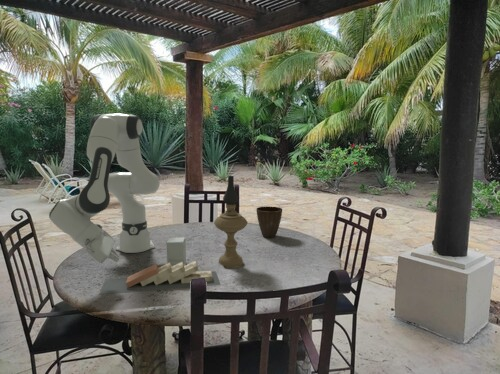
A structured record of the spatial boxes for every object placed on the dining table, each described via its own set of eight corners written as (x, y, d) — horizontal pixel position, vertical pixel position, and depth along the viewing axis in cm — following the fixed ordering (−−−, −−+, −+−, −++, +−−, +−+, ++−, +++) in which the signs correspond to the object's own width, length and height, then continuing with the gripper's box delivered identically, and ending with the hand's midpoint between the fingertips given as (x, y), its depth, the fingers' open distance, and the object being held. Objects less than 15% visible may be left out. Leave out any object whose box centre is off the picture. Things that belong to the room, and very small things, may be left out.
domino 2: (141, 275, 143) (169, 262, 145) (143, 280, 143) (171, 266, 145) (140, 282, 137) (169, 267, 139) (142, 286, 138) (171, 272, 139)
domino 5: (180, 272, 146) (210, 270, 149) (181, 277, 147) (210, 275, 149) (181, 278, 140) (212, 276, 143) (181, 283, 141) (212, 281, 143)
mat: (105, 281, 144) (105, 279, 144) (215, 273, 154) (215, 271, 154) (98, 296, 131) (98, 294, 131) (220, 286, 140) (220, 284, 140)
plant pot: (251, 234, 213) (252, 207, 211) (274, 231, 220) (274, 205, 217) (263, 241, 200) (263, 212, 198) (286, 237, 206) (287, 210, 204)
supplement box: (186, 264, 164) (186, 237, 162) (184, 270, 156) (183, 242, 154) (170, 264, 163) (169, 237, 162) (166, 270, 156) (166, 242, 154)
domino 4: (167, 273, 145) (195, 260, 147) (169, 278, 146) (197, 264, 147) (167, 279, 139) (196, 265, 141) (170, 284, 140) (198, 270, 141)
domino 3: (154, 275, 144) (182, 261, 146) (156, 279, 144) (184, 265, 146) (153, 281, 138) (182, 267, 140) (155, 285, 139) (184, 271, 140)
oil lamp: (217, 271, 156) (216, 178, 150) (211, 259, 170) (210, 174, 164) (251, 267, 160) (252, 177, 154) (242, 256, 174) (243, 173, 168)
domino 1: (127, 277, 142) (156, 263, 144) (130, 281, 142) (158, 267, 144) (125, 283, 136) (155, 268, 138) (128, 287, 137) (158, 273, 138)
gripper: (89, 237, 124) (121, 263, 127) (100, 223, 143) (127, 245, 147) (76, 251, 123) (108, 276, 127) (88, 234, 143) (116, 256, 147)
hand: (118, 259), depth 137 cm, fingers closed
